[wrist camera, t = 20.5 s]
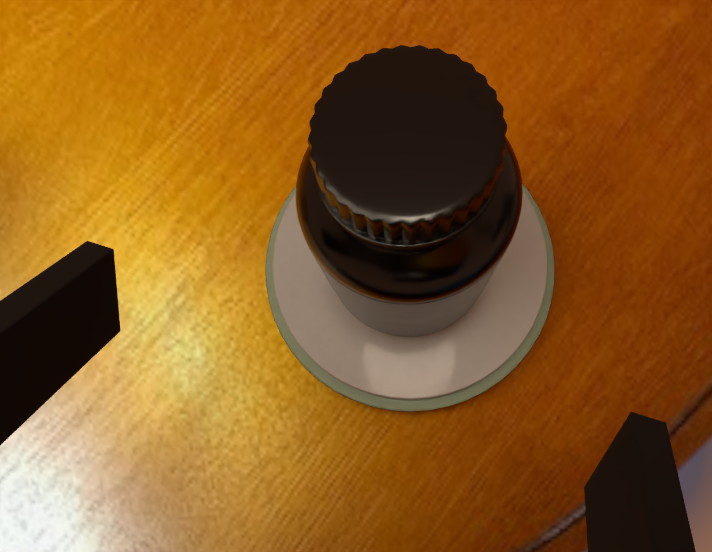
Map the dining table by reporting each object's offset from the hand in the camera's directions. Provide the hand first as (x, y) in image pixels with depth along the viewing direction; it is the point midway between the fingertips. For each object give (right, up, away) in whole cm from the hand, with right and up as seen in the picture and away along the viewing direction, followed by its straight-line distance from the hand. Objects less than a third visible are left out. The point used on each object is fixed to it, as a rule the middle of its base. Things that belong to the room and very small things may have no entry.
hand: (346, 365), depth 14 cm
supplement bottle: (+2, +3, +11) cm, 12 cm away
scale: (+3, +2, +13) cm, 14 cm away
